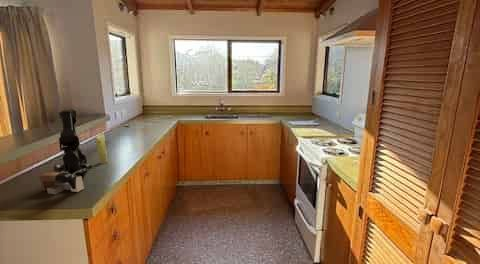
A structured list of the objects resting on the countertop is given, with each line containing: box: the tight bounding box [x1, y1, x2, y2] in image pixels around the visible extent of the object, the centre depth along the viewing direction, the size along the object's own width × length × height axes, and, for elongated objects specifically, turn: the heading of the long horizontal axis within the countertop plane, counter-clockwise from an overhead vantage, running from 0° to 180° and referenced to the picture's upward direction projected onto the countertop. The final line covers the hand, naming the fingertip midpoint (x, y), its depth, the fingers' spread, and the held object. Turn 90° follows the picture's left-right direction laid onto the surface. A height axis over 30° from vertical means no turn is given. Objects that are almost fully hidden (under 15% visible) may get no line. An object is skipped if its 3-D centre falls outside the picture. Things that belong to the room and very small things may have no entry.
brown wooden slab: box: [39, 168, 77, 192], centre depth 143 cm, size 14×12×8 cm
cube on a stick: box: [54, 176, 85, 193], centre depth 138 cm, size 4×16×7 cm, turn 76°
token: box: [46, 184, 65, 195], centre depth 136 cm, size 5×5×3 cm
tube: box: [94, 133, 109, 164], centre depth 177 cm, size 6×5×20 cm
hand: (77, 187), depth 136 cm, fingers closed on cube on a stick, 4 cm apart
